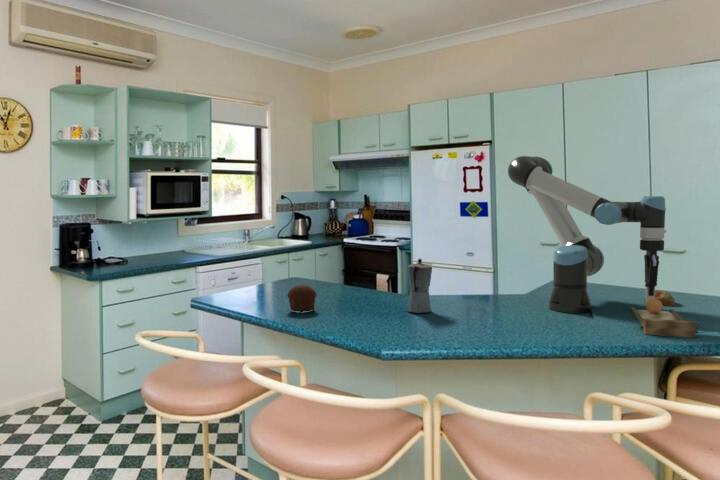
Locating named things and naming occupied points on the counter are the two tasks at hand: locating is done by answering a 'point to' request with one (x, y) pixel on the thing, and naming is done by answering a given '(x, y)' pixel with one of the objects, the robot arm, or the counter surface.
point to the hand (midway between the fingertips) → (650, 303)
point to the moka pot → (419, 287)
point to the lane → (664, 323)
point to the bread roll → (664, 298)
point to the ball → (654, 306)
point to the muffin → (302, 298)
